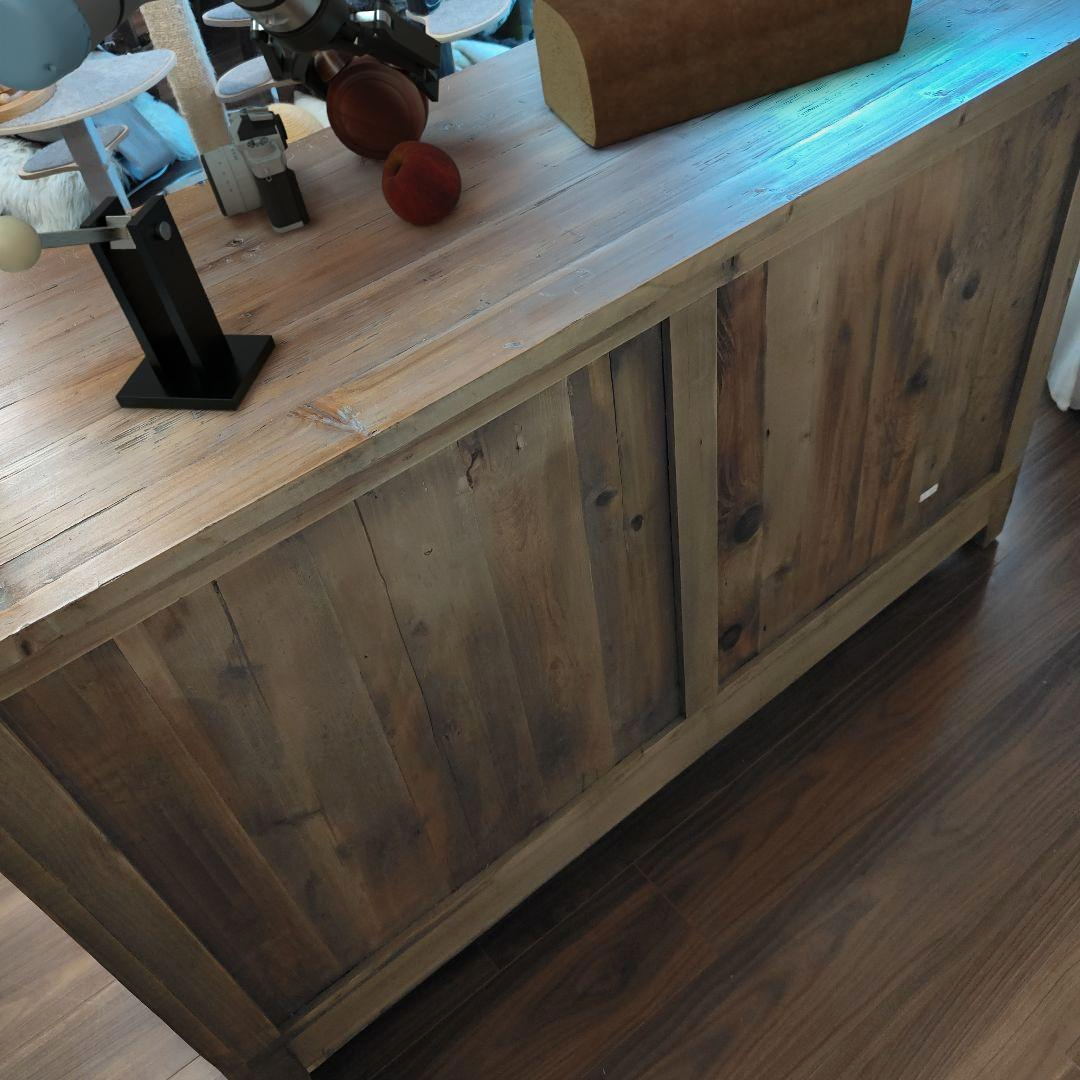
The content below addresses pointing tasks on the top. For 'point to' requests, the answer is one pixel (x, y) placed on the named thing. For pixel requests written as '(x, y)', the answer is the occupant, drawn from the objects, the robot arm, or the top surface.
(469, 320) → the top surface
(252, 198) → the camera
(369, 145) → the alarm clock
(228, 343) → the lever bracket
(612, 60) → the bread
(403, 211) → the apple
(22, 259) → the lever
